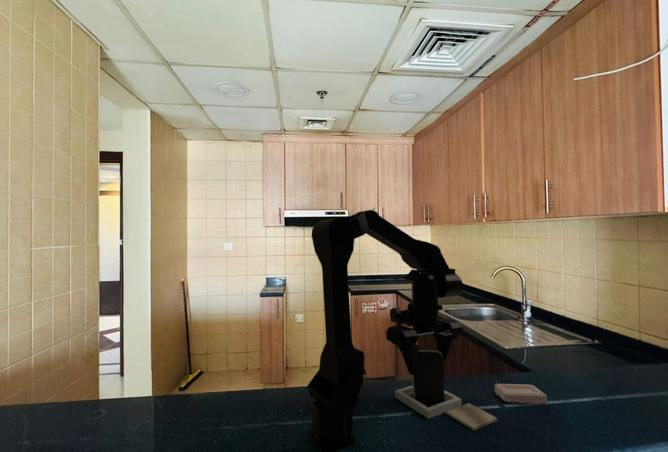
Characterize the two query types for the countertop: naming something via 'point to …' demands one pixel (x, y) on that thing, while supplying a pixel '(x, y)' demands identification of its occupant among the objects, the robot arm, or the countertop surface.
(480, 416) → the pad
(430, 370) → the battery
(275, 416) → the countertop surface
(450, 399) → the frame
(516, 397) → the soap bar
